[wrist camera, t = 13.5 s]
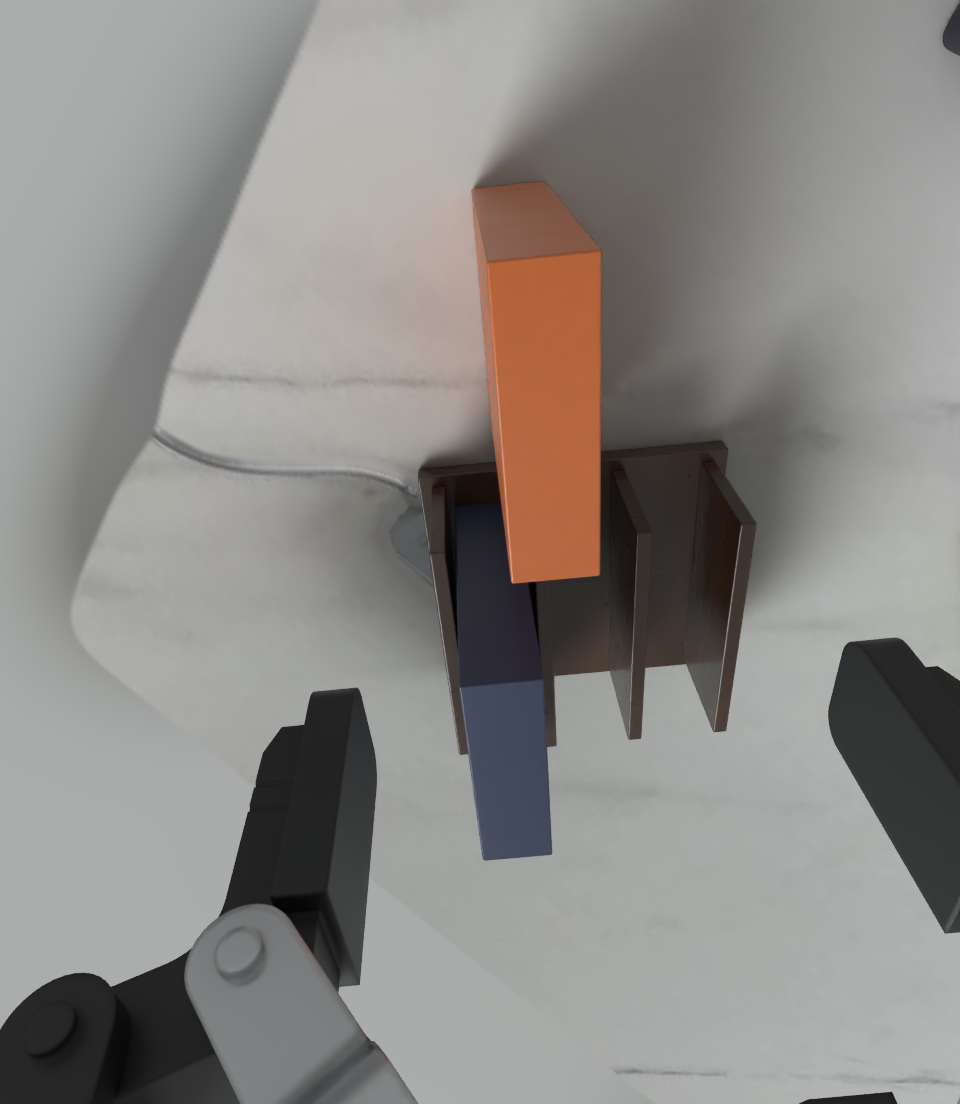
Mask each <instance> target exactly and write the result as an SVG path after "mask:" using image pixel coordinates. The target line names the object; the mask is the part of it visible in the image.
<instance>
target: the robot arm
mask: <svg viewBox="0 0 960 1104" xmlns="http://www.w3.org/2000/svg"><path fill="white" fill-rule="evenodd" d="M828 719H829V726H830V731H831V734H832V737H833V740H834V742H835V745H836V747H837V748H838V750H839V752H840V754H841V755H842V757H843V759H844V760H845V762H846V764H847V766H848V767H849V769H850V771H851V772H852V774H853V776H854V778H855V779H856V781H857V783H858V785H859V786H860V788H861V790H862V791H863V793H864V795H865V797H866V798H867V800H868V802H869V803H870V805H871V807H872V809H873V810H874V812H875V814H876V816H877V817H878V819H879V821H880V822H881V824H882V826H883V828H884V829H885V831H886V833H887V834H888V836H889V838H890V840H891V841H892V843H893V845H894V847H895V848H896V850H897V852H898V853H899V855H900V857H901V859H902V860H903V862H904V864H905V865H906V867H907V869H908V871H909V872H910V874H911V876H912V877H913V879H914V881H915V883H916V884H917V886H918V888H919V890H920V891H921V893H922V895H923V896H924V898H925V900H926V902H927V903H928V905H929V907H930V908H931V910H932V912H933V914H934V915H935V917H936V919H937V921H938V922H939V924H940V926H941V927H942V929H943V931H944V933H956V932H960V681H959V680H958V679H956V678H955V677H953V676H952V675H950V674H949V673H947V672H946V671H944V670H943V669H941V668H940V667H938V666H935V667H925V666H924V665H923V663H922V662H921V661H920V660H919V658H918V657H917V656H916V655H915V653H914V652H913V651H912V650H911V649H910V647H909V646H908V645H907V644H906V643H905V642H904V641H903V640H901V639H899V638H886V639H876V640H865V641H855V642H849V643H847V644H846V646H845V647H844V649H843V652H842V656H841V660H840V664H839V668H838V672H837V676H836V680H835V685H834V689H833V693H832V697H831V701H830V705H829V711H828ZM376 787H377V769H376V758H375V751H374V746H373V742H372V738H371V734H370V730H369V726H368V722H367V718H366V713H365V709H364V705H363V701H362V697H361V693H360V691H359V689H358V688H348V689H338V690H328V691H317V692H313V693H312V694H311V696H310V700H309V705H308V709H307V714H306V719H305V724H304V725H299V726H289V727H282V728H281V729H280V730H279V732H278V733H277V735H276V736H275V737H274V739H273V740H272V741H271V743H270V744H269V746H268V747H267V748H266V750H265V751H264V752H263V755H262V759H261V763H260V766H259V770H258V774H257V778H256V788H254V791H253V794H252V798H251V802H250V812H248V814H247V818H246V822H245V826H244V829H243V834H242V838H241V841H240V845H239V849H238V853H237V857H236V861H235V865H234V869H233V873H232V877H231V881H230V885H229V889H228V892H227V896H226V900H225V903H224V906H223V909H222V911H221V913H220V915H219V917H218V918H217V919H216V920H215V921H213V922H212V923H211V924H210V925H209V926H208V927H207V928H206V929H205V930H204V931H203V932H202V933H201V935H200V936H199V937H198V939H197V940H196V942H195V944H194V945H193V947H192V948H191V949H190V950H189V951H188V952H186V953H185V954H183V955H182V956H180V957H179V958H177V959H175V960H173V961H171V962H169V963H167V964H165V965H163V966H160V967H158V968H155V969H153V970H151V971H148V972H146V973H144V974H141V975H139V976H136V977H134V978H131V979H129V980H127V981H124V982H122V983H120V984H117V985H115V986H112V987H110V986H109V984H108V983H107V982H106V981H105V980H103V979H102V978H101V977H99V976H96V975H94V974H89V973H74V974H70V975H65V976H63V977H60V978H57V979H55V980H53V981H51V982H49V983H47V984H45V985H43V986H42V987H40V988H39V989H37V990H36V991H35V992H33V993H32V994H31V995H30V996H28V997H27V998H26V999H25V1000H24V1001H23V1002H22V1003H21V1004H20V1005H19V1006H18V1007H17V1008H16V1009H15V1010H14V1011H13V1012H12V1014H11V1015H10V1016H9V1017H8V1019H7V1020H6V1022H5V1023H4V1025H3V1026H2V1028H1V1030H0V1104H418V1103H417V1101H416V1099H415V1098H414V1096H413V1095H412V1094H411V1092H410V1090H409V1089H408V1088H407V1086H406V1084H405V1083H404V1081H403V1080H402V1078H401V1077H400V1075H399V1074H398V1072H397V1071H396V1069H395V1068H394V1066H393V1065H392V1063H391V1062H390V1061H389V1059H388V1058H387V1056H386V1055H385V1053H384V1052H383V1051H382V1050H381V1048H380V1047H379V1046H378V1045H377V1044H376V1043H375V1042H374V1041H370V1039H369V1038H368V1037H367V1036H366V1034H365V1033H364V1032H363V1030H362V1029H361V1027H360V1026H359V1024H358V1023H357V1021H356V1020H355V1018H354V1017H353V1015H352V1014H351V1012H350V1011H349V1009H348V1007H347V1006H346V1004H345V1003H344V1001H343V1000H342V998H341V997H340V995H339V994H338V991H339V987H342V986H352V985H360V974H361V963H362V950H363V939H364V928H365V915H366V905H367V893H368V881H369V870H370V858H371V846H372V835H373V823H374V811H375V799H376ZM800 1104H897V1102H896V1100H895V1097H894V1095H893V1093H892V1092H886V1093H875V1094H864V1095H853V1096H841V1097H830V1098H819V1099H808V1100H806V1101H804V1102H802V1103H800ZM957 1104H960V1098H959V1100H958V1103H957Z"/></svg>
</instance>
